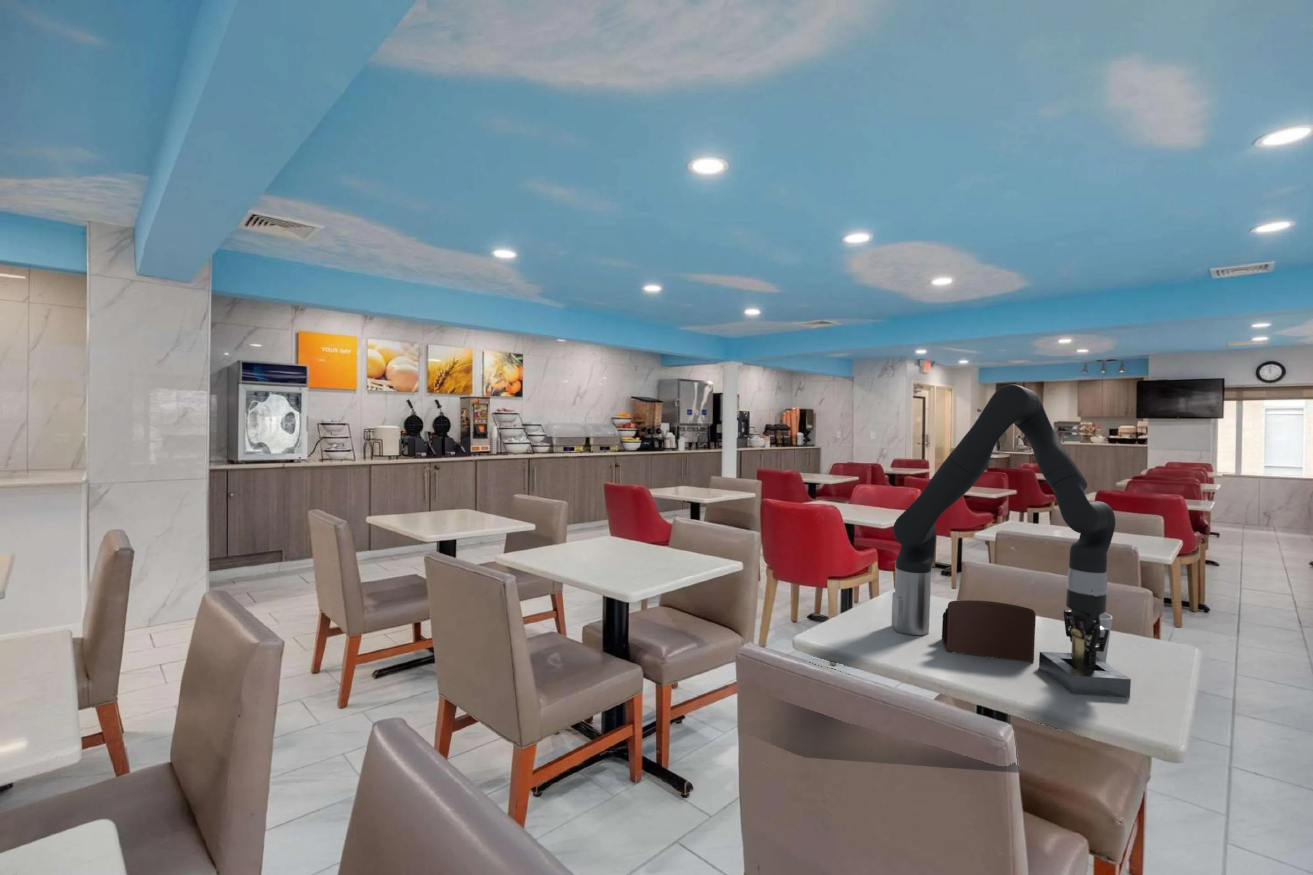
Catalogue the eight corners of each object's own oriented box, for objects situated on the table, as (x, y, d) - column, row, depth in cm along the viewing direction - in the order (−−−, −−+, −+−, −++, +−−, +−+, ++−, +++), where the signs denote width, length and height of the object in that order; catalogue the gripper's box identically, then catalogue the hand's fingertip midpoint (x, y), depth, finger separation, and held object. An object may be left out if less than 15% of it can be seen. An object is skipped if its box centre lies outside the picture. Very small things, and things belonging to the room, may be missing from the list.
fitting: (1077, 673, 142) (1079, 633, 141) (1065, 664, 147) (1067, 626, 146) (1101, 674, 141) (1103, 634, 141) (1088, 665, 146) (1089, 627, 146)
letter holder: (1034, 663, 155) (1036, 607, 154) (946, 652, 161) (948, 598, 160) (1024, 649, 164) (1026, 595, 164) (941, 639, 170) (943, 587, 170)
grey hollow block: (1071, 693, 138) (1072, 675, 138) (1038, 667, 152) (1039, 651, 151) (1129, 697, 137) (1130, 678, 136) (1091, 670, 150) (1092, 654, 150)
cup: (1098, 670, 151) (1101, 620, 150) (1064, 658, 158) (1066, 611, 157) (1117, 664, 154) (1119, 616, 154) (1082, 653, 162) (1084, 607, 161)
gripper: (1052, 580, 151) (1049, 650, 151) (1087, 597, 136) (1083, 675, 137) (1085, 581, 150) (1082, 652, 151) (1124, 598, 136) (1120, 677, 136)
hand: (1083, 662), depth 144 cm, fingers closed on fitting, 4 cm apart
